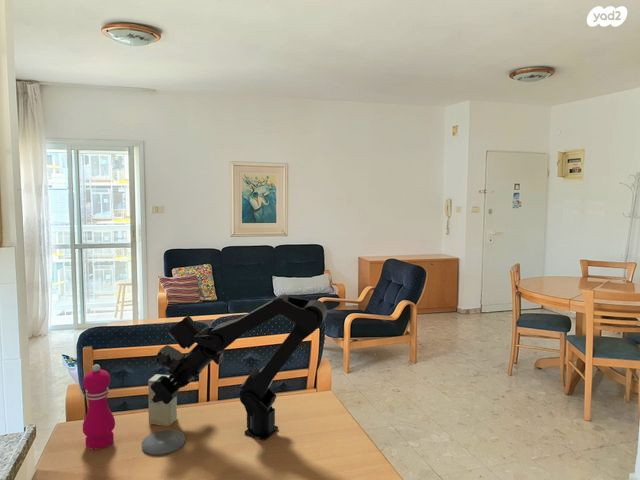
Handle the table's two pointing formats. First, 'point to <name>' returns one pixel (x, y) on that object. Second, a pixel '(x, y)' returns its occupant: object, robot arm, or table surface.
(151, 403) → the skincare box
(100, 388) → the pepper mill
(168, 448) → the charcoal coaster
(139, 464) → the table surface
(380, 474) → the table surface
